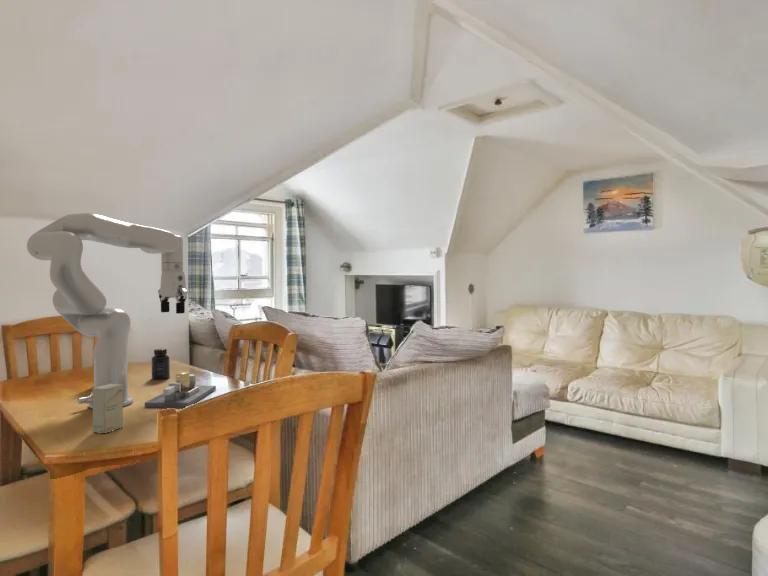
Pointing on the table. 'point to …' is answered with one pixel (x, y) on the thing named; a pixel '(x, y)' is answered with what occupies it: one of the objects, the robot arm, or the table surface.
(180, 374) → the universal joint block
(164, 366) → the supplement bottle
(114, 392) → the skincare box
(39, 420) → the table surface
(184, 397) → the shaft bench
